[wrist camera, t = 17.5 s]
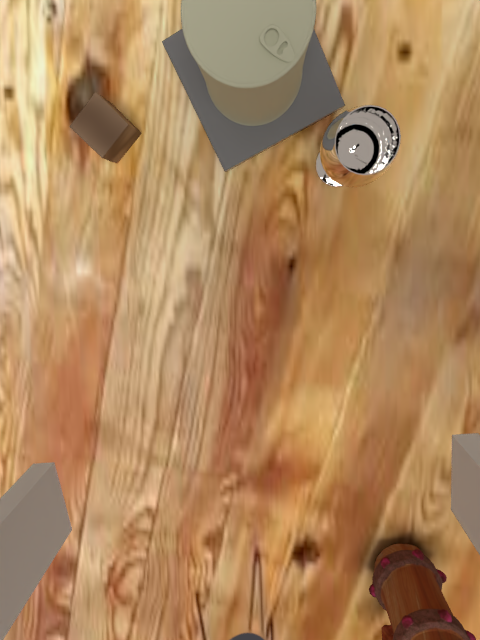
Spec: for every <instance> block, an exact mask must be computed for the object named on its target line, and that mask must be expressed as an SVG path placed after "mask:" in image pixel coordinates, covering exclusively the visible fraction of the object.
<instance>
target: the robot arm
mask: <svg viewBox="0 0 480 640" xmlns="http://www.w3.org/2000/svg"><path fill="white" fill-rule="evenodd" d="M451 510H452V512H453V513H454V515H455V517H456V518H457V520H458V521H459V523H460V524H461V526H462V528H463V529H464V531H465V532H466V534H467V536H468V537H469V539H470V540H471V542H472V543H473V545H474V547H475V548H476V550H477V551H478V553H479V554H480V435H479V434H478V433H474V434H459V435H452V483H451ZM71 530H72V528H71V524H70V520H69V516H68V512H67V509H66V505H65V501H64V497H63V494H62V490H61V486H60V482H59V478H58V475H57V471H56V467H55V463H54V462H53V463H39V464H33V465H32V466H31V467H30V468H29V469H28V470H27V471H26V472H25V473H24V474H23V475H22V476H21V477H20V478H19V479H18V480H17V481H16V483H15V484H14V485H13V486H12V487H11V488H10V489H9V490H8V491H7V492H6V493H5V494H4V495H3V496H2V497H1V498H0V640H3V639H4V637H5V636H6V634H7V633H8V631H9V629H10V628H11V626H12V625H13V623H14V621H15V620H16V618H17V617H18V615H19V613H20V612H21V610H22V609H23V607H24V605H25V604H26V602H27V601H28V599H29V597H30V596H31V594H32V593H33V591H34V589H35V588H36V586H37V585H38V583H39V581H40V580H41V578H42V577H43V575H44V573H45V572H46V570H47V569H48V567H49V566H50V564H51V562H52V561H53V559H54V558H55V556H56V554H57V553H58V551H59V550H60V548H61V546H62V545H63V543H64V542H65V540H66V538H67V537H68V535H69V534H70V532H71Z"/></svg>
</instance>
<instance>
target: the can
mask: <svg viewBox="0 0 480 640" xmlns="http://www.w3.org/2000/svg"><path fill="white" fill-rule="evenodd" d="M315 18H316V0H182V3H181V22H182V29H183V34H184V38H185V41H186V44H187V46H188V48H189V51H190V53H191V54H192V56H193V58H194V59H195V61H196V62H197V64H198V66H199V68H200V71H201V73H202V75H203V77H204V79H205V82H206V86H207V90H208V93H209V95H210V97H211V100H212V101H213V103H214V105H215V106H216V108H217V109H218V110H219V111H220V112H221V113H222V114H223V115H224V116H225V117H227V118H228V119H230V120H231V121H233V122H235V123H238V124H241V125H246V126H259V125H264V124H267V123H270V122H272V121H274V120H276V119H277V118H279V117H280V116H281V115H282V114H284V113H285V112H286V111H287V110H288V108H289V107H290V106H291V105H292V103H293V102H294V100H295V98H296V96H297V94H298V92H299V89H300V85H301V81H302V71H303V64H304V59H305V55H306V51H307V47H308V44H309V42H310V39H311V36H312V33H313V29H314V24H315Z"/></svg>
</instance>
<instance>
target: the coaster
mask: <svg viewBox="0 0 480 640" xmlns="http://www.w3.org/2000/svg"><path fill="white" fill-rule="evenodd" d="M162 43H163V45H164V47H165V49H166V51H167V53H168V55H169V57H170V59H171V61H172V63H173V65H174V67H175V70H176V72H177V74H178V76H179V78H180V80H181V82H182V84H183V86H184V88H185V90H186V92H187V94H188V96H189V98H190V100H191V103H192V105H193V107H194V109H195V111H196V113H197V115H198V117H199V119H200V121H201V123H202V125H203V127H204V129H205V131H206V133H207V136H208V138H209V140H210V142H211V144H212V146H213V148H214V150H215V152H216V154H217V156H218V158H219V160H220V162H221V164H222V167H223V169H224V171H225V172H227V171H228V170H230V169H232V168H234V167H236V166H237V165H239V164H241V163H243V162H245V161H247V160H248V159H250V158H252V157H254V156H256V155H257V154H259V153H261V152H263V151H265V150H267V149H268V148H270V147H272V146H274V145H276V144H277V143H279V142H281V141H283V140H285V139H287V138H288V137H290V136H292V135H294V134H296V133H297V132H299V131H301V130H303V129H305V128H307V127H308V126H310V125H312V124H314V123H316V122H317V121H319V120H321V119H323V118H325V117H327V116H328V115H330V114H332V113H334V112H336V111H337V110H339V109H341V108H343V107H344V106H345V104H344V102H343V99H342V97H341V94H340V92H339V89H338V87H337V85H336V82H335V80H334V77H333V75H332V72H331V70H330V67H329V65H328V62H327V60H326V58H325V55H324V53H323V50H322V48H321V45H320V43H319V40H318V38H317V35H316V33H315V31H314V29H313V33H312V36H311V39H310V42H309V44H308V47H307V51H306V55H305V59H304V64H303V71H302V81H301V85H300V89H299V92H298V94H297V96H296V98H295V100H294V102H293V103H292V105H291V106H290V107H289V108H288V110H287V111H286V112H285V113H284V114H282V115H281V116H280V117H279V118H277V119H276V120H274V121H272V122H270V123H267V124H264V125H259V126H246V125H241V124H238V123H235V122H233V121H231V120H230V119H228V118H227V117H225V116H224V115H223V114H222V113H221V112H220V111H219V110H218V109H217V108H216V106H215V105H214V103H213V101H212V100H211V97H210V95H209V93H208V90H207V86H206V82H205V79H204V77H203V75H202V73H201V71H200V68H199V66H198V64H197V62H196V61H195V59H194V58H193V56H192V54H191V53H190V51H189V48H188V46H187V44H186V41H185V38H184V34H183V29H181V30H180V31H178V32H176V33H175V34H173V35H172V36H170V37H169V38H167V39H165V40H164V41H162Z"/></svg>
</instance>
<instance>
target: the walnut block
mask: <svg viewBox="0 0 480 640" xmlns="http://www.w3.org/2000/svg"><path fill="white" fill-rule="evenodd" d="M70 128H72V129H73V130H74V131H75V132H76V133H77V134H78V135H79V136H80V137H81V138H82V139H83V140H84V141H85V142H86V143H87V144H88V145H89V146H90V147H91V148H92V149H93V150H95V151H96V152H97V153H98V154H99V155H100V156H101V157H102V158H104V159H106V160H109V161H112V162H115V163H118V162H119V161H120V160H121V158H122V157H123V156H124V155H125V153H126V152H127V151H128V150H129V148H130V147H131V146H132V145H133V143H134V142H135V141H136V140H137V138H138V137H139V136H140V135H141V132H140V131H139V130H138V129H137V128H136V127H135V126H134V125H133V124H132V123H131V122H130V121H129V120H128V119H127V118H126V117H125V116H124V115H123V114H122V113H121V112H120V111H119V110H118V109H117V108H116V107H115V106H114V105H112V104H111V103H110V102H109V101H107V100H106V99H105V98H103V97H102V96H101V95H99V94H98V93H97V92H95V93H94V94H93V96H92V97H91V98H90V100H89V101H88V102H87V104H86V105H85V107H84V108H83V109H82V111H81V112H80V113H79V115H78V116H77V117H76V119H75V120H74V121H73V123H72V124H71V125H70Z"/></svg>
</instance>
